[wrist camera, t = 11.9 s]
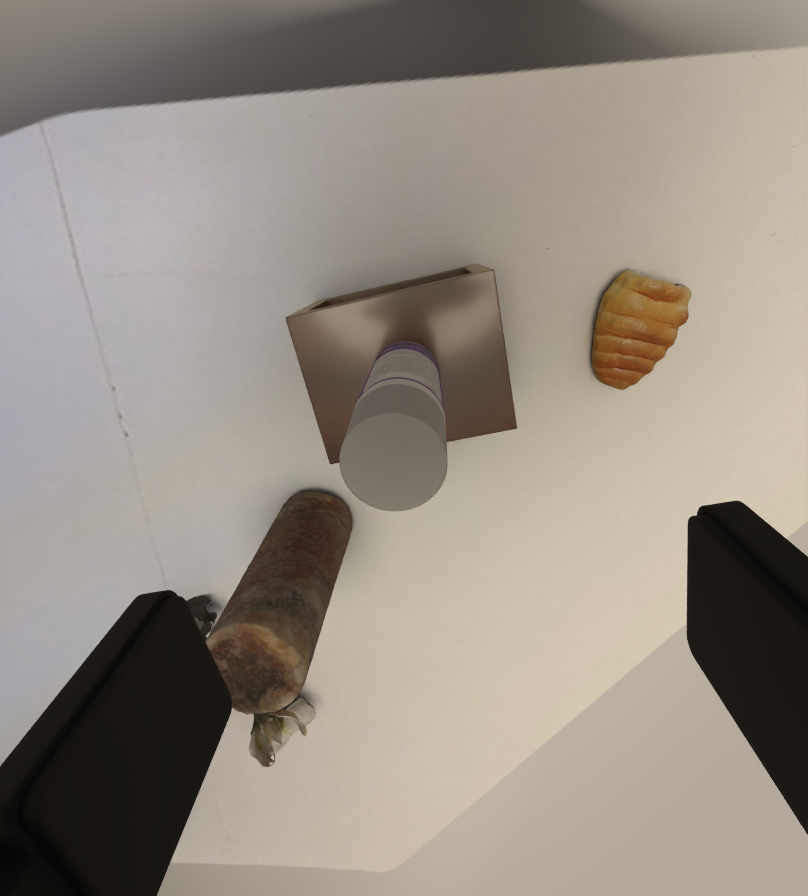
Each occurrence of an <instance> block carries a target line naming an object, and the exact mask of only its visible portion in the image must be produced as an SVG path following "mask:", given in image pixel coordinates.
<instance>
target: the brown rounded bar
mask: <svg viewBox="0 0 808 896" xmlns="http://www.w3.org/2000/svg"><path fill="white" fill-rule="evenodd" d="M351 531H352V519H351V514H350V512H349V509H348V508H347V507H346V506H345V505H344V503H343V502H342V501H341V500H338V499H336V498H335V497H333V496H330V495H326V494H321V493H316V492H302V493H298V494H296V495H295V496H293V497H291V498H290V499H289V500H288V501H287V502H286V503H285V504H284V505H283V507H282V509H281V510H280V512H279V514H278V515H277V517H276V519H275V520H274V522H273V524H272V526H271V527H270V529H269V531H268V533H267V535H266V536H265V538H264V540H263V541H262V543H261V545H260V547H259V549H258V551H257V553H256V554H255V556H254V558H253V560H252V561H251V563H250V565H249V566H248V568H247V570H246V572H245V573H244V575H243V577H242V579H241V581H240V583H239V585H238V586H237V588H236V590H235V592H234V593H233V595H232V597H231V598H230V600H229V602H228V603H227V605H226V607H225V609H224V611H223V613H222V614H221V616H220V618H219V620H218V621H217V623H216V625H215V627H214V628H213V630H212V632H211V633H210V635H209V636H208V638H207V640H206V644H207V646H208V648H209V650H210V652H211V654H212V656H213V658H214V660H215V662H216V664H217V666H218V668H219V671H220V673H221V675H222V677H223V679H224V681H225V683H226V685H227V687H228V689H229V691H230V694H231V697H232V708H234V709H235V710H236V711H240V712H243V713H245V714H254V713H257V714H260V713H267V712H276V711H278V710H281V709H282V708H284V707H286V706H287V705H289V704H290V703H291V702H292V701H293V700H294V699H295V698H296V697H297V695H298V694H299V693H300V691H301V690H302V688H303V686H304V683H305V680H306V677H307V673H308V670H309V667H310V664H311V661H312V658H313V654H314V651H315V647H316V644H317V641H318V638H319V635H320V632H321V628H322V625H323V621H324V618H325V615H326V611H327V608H328V605H329V602H330V599H331V595H332V592H333V589H334V585H335V582H336V579H337V576H338V573H339V570H340V566H341V563H342V560H343V557H344V554H345V551H346V548H347V545H348V541H349V538H350V534H351Z"/></svg>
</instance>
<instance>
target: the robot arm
mask: <svg viewBox="0 0 808 896" xmlns="http://www.w3.org/2000/svg"><path fill="white" fill-rule="evenodd" d="M687 640H688V644H689V647H690V650H691V652H692V655H693V656H694V658H695V660H696V661H697V663H698V664H699V666H700V667H701V669H702V671H703V672H704V674H705V675H706V677H707V678H708V680H709V682H710V683H711V685H712V686H713V688H714V689H715V691H716V693H717V694H718V695H719V697H720V699H721V700H722V702H723V703H724V705H725V707H726V708H727V710H728V711H729V713H730V714H731V716H732V717H733V719H734V720H735V722H736V724H737V725H738V727H739V728H740V730H741V732H742V733H743V735H744V736H745V738H746V739H747V741H748V742H749V744H750V746H751V747H752V749H753V750H754V752H755V753H756V755H757V756H758V758H759V760H760V761H761V763H762V764H763V766H764V767H765V769H766V770H767V772H768V774H769V775H770V777H771V778H772V780H773V781H774V783H775V785H776V786H777V787H778V789H779V791H780V792H781V794H782V795H783V797H784V799H785V800H786V802H787V803H788V805H789V806H790V808H791V809H792V811H793V813H794V814H795V816H796V817H797V819H798V820H799V822H800V824H801V825H802V826H803V828H804V829H805V831H806V833H807V834H808V557H807V556H806V555H805V554H804V553H802V552H801V551H800V550H799V549H798V548H796V547H795V546H794V545H793V544H792V543H791V542H789V541H788V540H787V539H786V538H785V537H783V536H782V535H781V534H780V533H779V532H777V531H776V530H775V529H774V528H773V527H771V526H770V525H769V524H768V523H767V522H765V521H764V520H763V519H762V518H761V517H759V516H758V515H757V514H756V513H755V512H753V511H752V510H751V509H750V508H749V507H747V506H746V505H745V504H744V503H742V502H740V501H731V502H725V503H718V504H712V505H705V506H702V507H700V508H699V510H698V512H697V516H692V517H690V518H689V520H688V562H687ZM231 710H232V697H231V694H230V691H229V689H228V687H227V685H226V683H225V681H224V679H223V677H222V675H221V673H220V671H219V668H218V666H217V664H216V662H215V660H214V658H213V656H212V654H211V652H210V650H209V648H208V646H207V644H206V642H205V640H204V638H203V635H202V633H201V631H200V629H199V627H198V625H197V623H196V621H195V619H194V617H193V615H192V613H191V611H190V609H189V607H188V605H187V603H186V601H185V599H184V598H182V597H180V596H177V594H176V593H174V592H173V591H170V590H166V591H160V592H153V593H147V594H142V595H139V596H138V597H136V598H135V599H134V600H133V602H132V603H131V604H130V605H129V607H128V608H127V609H126V610H125V612H124V613H123V614H122V615H121V617H120V618H119V619H118V620H117V622H116V623H115V624H114V625H113V627H112V628H111V629H110V630H109V632H108V633H107V634H106V635H105V636H104V638H103V639H102V640H101V641H100V643H99V644H98V645H97V646H96V648H95V649H94V650H93V651H92V653H91V654H90V655H89V656H88V658H87V659H86V660H85V661H84V663H83V664H82V665H81V666H80V668H79V669H78V670H77V671H76V673H75V674H74V675H73V676H72V678H71V679H70V680H69V681H68V683H67V684H66V685H65V686H64V688H63V689H62V690H61V691H60V693H59V694H58V695H57V696H56V698H55V699H54V700H53V701H52V703H51V704H50V705H49V706H48V708H47V709H46V710H45V711H44V712H43V714H42V715H41V716H40V717H39V719H38V720H37V721H36V722H35V724H34V725H33V726H32V727H31V729H30V730H29V731H28V732H27V734H26V735H25V736H24V737H23V739H22V740H21V741H20V742H19V744H18V745H17V746H16V747H15V749H14V750H13V751H12V752H11V754H10V755H9V756H8V757H7V759H6V760H5V761H4V762H3V764H2V765H1V766H0V896H157V893H158V891H159V888H160V886H161V884H162V881H163V879H164V876H165V874H166V871H167V869H168V866H169V864H170V861H171V859H172V857H173V854H174V852H175V849H176V847H177V844H178V842H179V839H180V837H181V834H182V832H183V830H184V827H185V825H186V822H187V820H188V817H189V815H190V812H191V810H192V807H193V805H194V803H195V800H196V798H197V795H198V793H199V790H200V788H201V785H202V783H203V780H204V778H205V776H206V773H207V771H208V768H209V766H210V763H211V761H212V758H213V756H214V753H215V751H216V749H217V746H218V744H219V741H220V739H221V736H222V734H223V731H224V729H225V726H226V724H227V722H228V719H229V717H230V714H231Z"/></svg>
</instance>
